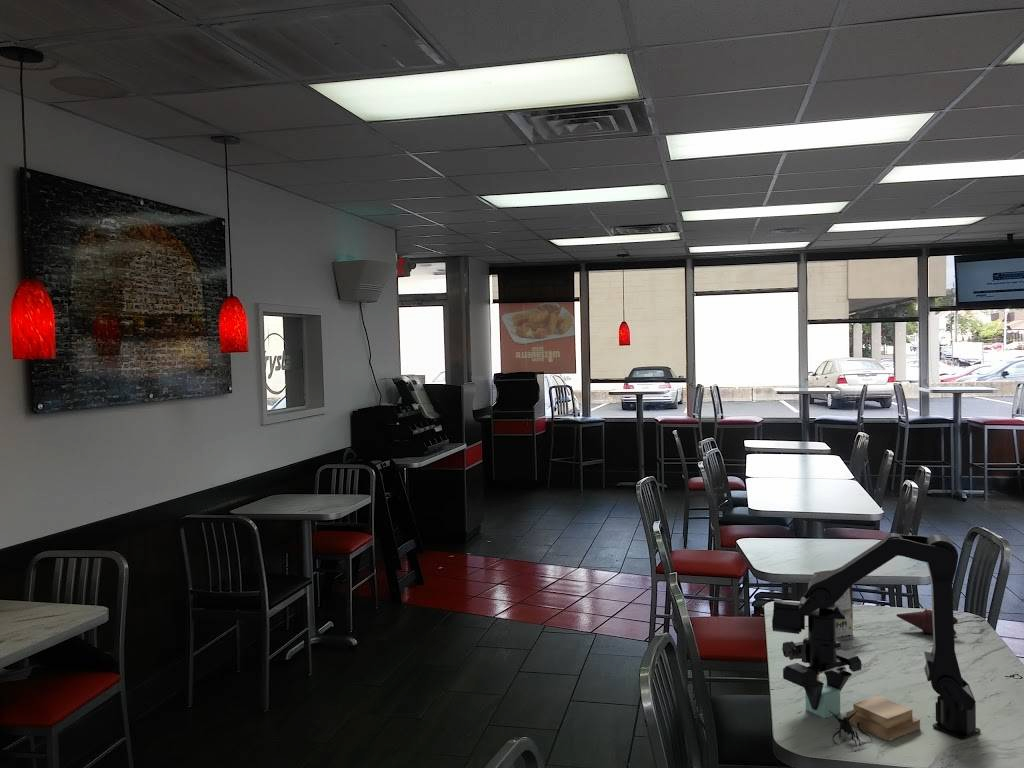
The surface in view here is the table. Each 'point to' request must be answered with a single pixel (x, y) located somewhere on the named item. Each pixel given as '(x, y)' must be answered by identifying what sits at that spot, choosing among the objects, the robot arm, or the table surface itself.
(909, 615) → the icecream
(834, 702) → the teal block
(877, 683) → the table surface
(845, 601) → the coffee box
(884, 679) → the table surface
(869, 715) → the plinth
